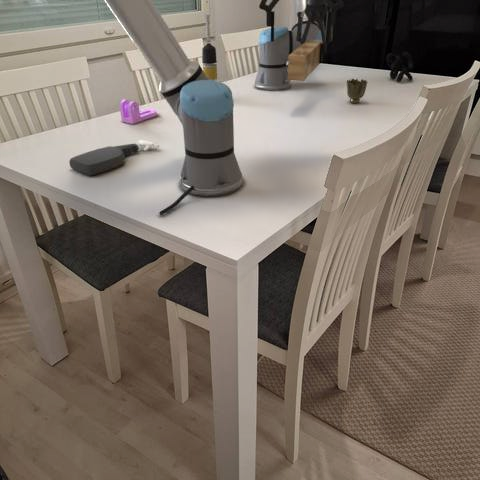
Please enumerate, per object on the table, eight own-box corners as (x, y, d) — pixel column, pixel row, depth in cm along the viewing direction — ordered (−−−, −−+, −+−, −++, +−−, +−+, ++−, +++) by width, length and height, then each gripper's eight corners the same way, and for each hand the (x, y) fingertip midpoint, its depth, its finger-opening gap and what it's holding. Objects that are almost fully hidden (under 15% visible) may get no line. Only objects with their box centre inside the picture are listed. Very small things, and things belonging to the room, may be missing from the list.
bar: (303, 81, 149) (305, 56, 144) (287, 80, 150) (288, 55, 146) (321, 61, 172) (323, 40, 168) (307, 61, 174) (308, 39, 169)
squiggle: (400, 92, 202) (376, 71, 205) (417, 76, 202) (392, 56, 205) (405, 81, 191) (380, 59, 194) (423, 64, 191) (397, 42, 194)
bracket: (132, 123, 152) (129, 103, 148) (121, 121, 155) (118, 100, 151) (160, 114, 161) (157, 95, 157) (149, 112, 164) (147, 92, 160)
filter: (220, 99, 177) (217, 15, 161) (206, 100, 176) (202, 16, 160) (215, 96, 182) (212, 14, 166) (202, 97, 180) (197, 14, 164)
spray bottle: (67, 168, 120) (139, 144, 136) (91, 178, 114) (163, 151, 130) (65, 157, 118) (137, 134, 134) (89, 167, 112) (162, 142, 128)
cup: (342, 103, 169) (344, 81, 165) (347, 99, 174) (350, 77, 170) (361, 106, 166) (364, 83, 162) (366, 101, 171) (369, 79, 167)
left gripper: (358, -62, 103) (347, 38, 114) (250, -60, 105) (250, 38, 116) (363, -64, 97) (351, 42, 108) (248, -61, 99) (248, 43, 110)
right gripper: (345, -8, 157) (338, 61, 170) (294, -9, 163) (291, 58, 176) (342, -6, 151) (335, 65, 164) (289, -7, 157) (286, 62, 170)
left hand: (299, 40), depth 112 cm, fingers open, 13 cm apart
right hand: (312, 61), depth 170 cm, fingers closed on bar, 6 cm apart
